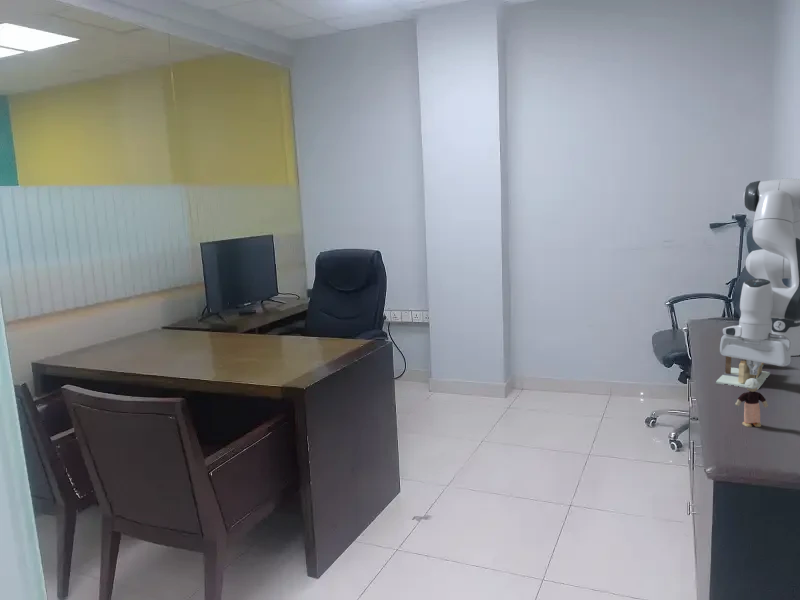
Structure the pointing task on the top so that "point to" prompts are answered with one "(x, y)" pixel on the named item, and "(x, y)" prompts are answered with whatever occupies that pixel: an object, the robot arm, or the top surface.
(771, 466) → the top surface
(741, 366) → the notched wooden plank
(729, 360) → the corner post
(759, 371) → the fence fixed
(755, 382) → the grandmother figurine
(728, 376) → the card
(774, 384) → the top surface
